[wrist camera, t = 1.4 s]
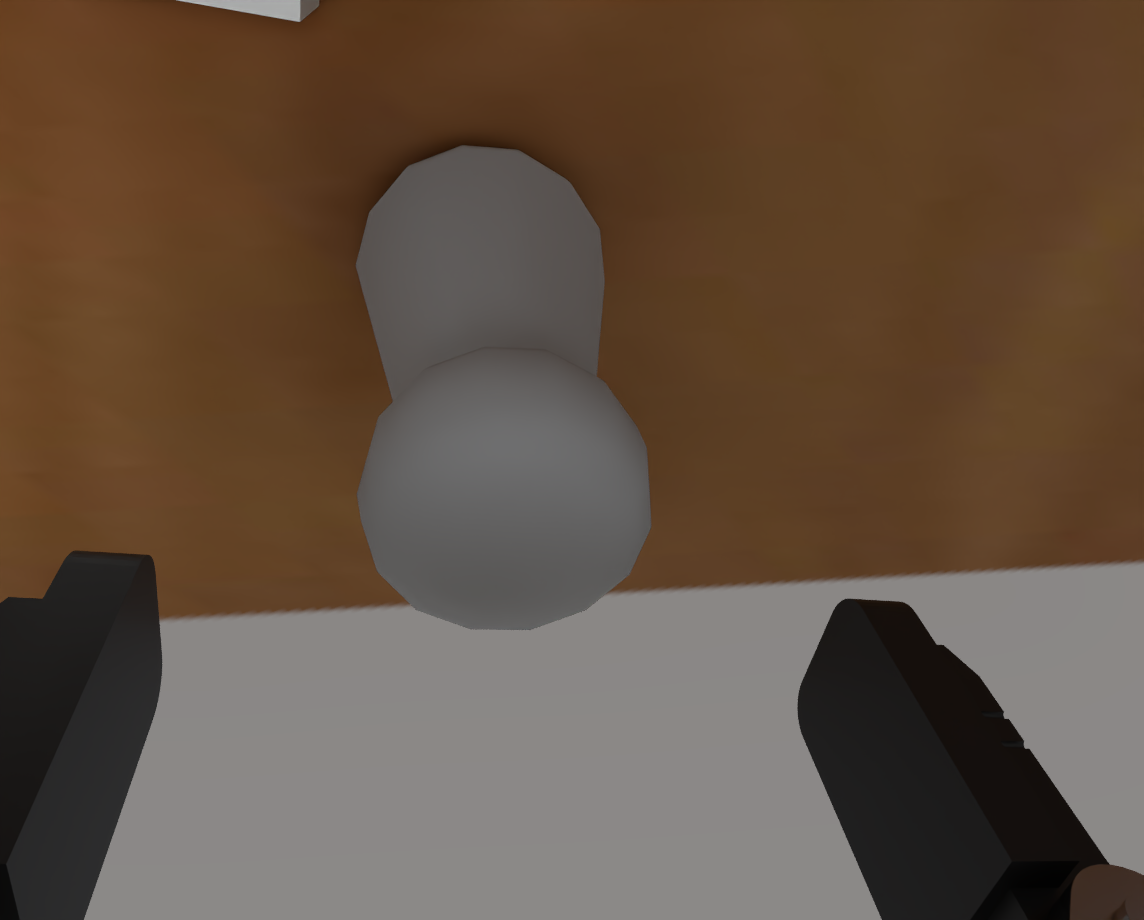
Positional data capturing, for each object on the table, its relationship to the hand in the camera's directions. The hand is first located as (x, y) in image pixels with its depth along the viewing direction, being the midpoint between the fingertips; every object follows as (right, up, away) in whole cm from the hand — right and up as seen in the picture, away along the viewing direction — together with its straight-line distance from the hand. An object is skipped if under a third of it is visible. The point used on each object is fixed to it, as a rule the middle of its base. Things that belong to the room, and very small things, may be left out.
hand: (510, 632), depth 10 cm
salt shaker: (-2, +8, +13) cm, 15 cm away
